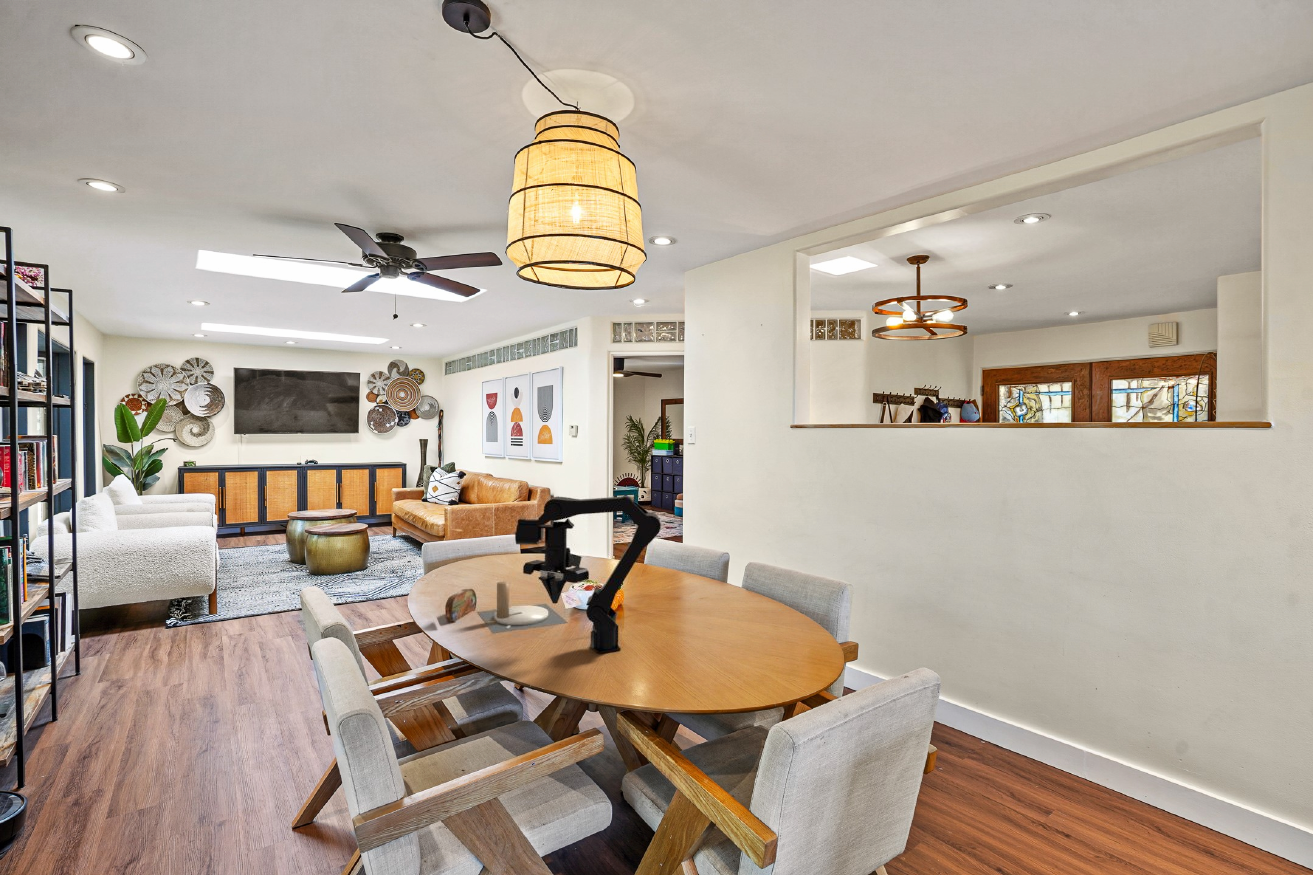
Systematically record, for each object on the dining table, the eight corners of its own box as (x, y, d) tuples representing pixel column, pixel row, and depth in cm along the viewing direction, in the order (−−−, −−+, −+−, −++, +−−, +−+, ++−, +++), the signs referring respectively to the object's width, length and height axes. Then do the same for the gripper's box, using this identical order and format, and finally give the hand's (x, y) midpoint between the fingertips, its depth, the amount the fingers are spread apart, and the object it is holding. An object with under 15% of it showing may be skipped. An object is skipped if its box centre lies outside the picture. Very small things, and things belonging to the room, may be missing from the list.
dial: (556, 611, 198) (556, 575, 197) (534, 627, 182) (534, 588, 182) (509, 607, 201) (509, 572, 201) (484, 622, 186) (484, 584, 186)
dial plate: (545, 606, 207) (545, 602, 206) (568, 626, 187) (568, 622, 187) (477, 615, 197) (477, 611, 196) (492, 636, 177) (492, 632, 177)
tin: (452, 627, 185) (453, 598, 185) (443, 626, 186) (443, 597, 185) (477, 612, 200) (477, 585, 200) (468, 611, 200) (468, 585, 200)
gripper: (602, 544, 170) (601, 602, 170) (550, 536, 180) (549, 591, 180) (575, 550, 160) (574, 612, 161) (521, 542, 171) (521, 600, 171)
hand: (555, 603), depth 168 cm, fingers closed
